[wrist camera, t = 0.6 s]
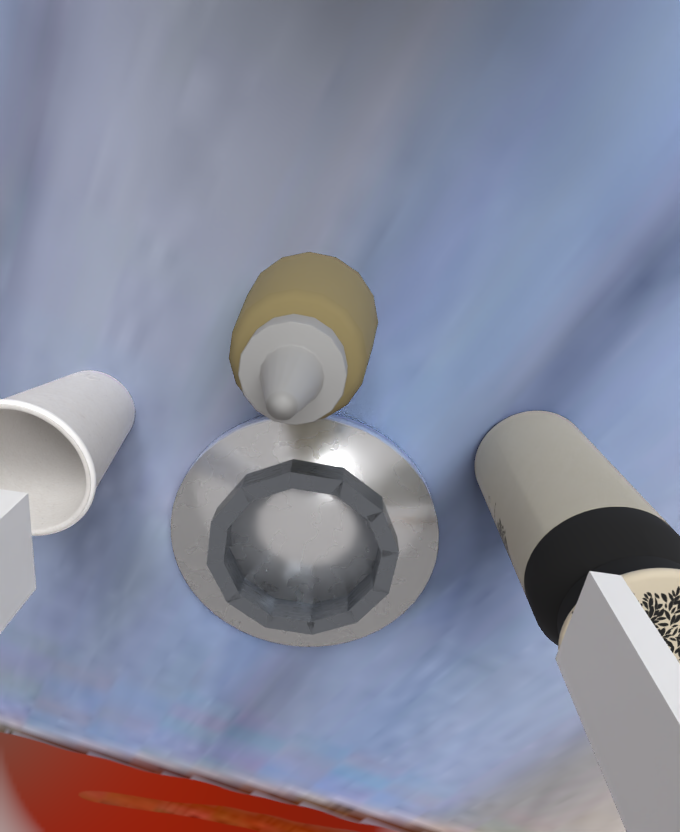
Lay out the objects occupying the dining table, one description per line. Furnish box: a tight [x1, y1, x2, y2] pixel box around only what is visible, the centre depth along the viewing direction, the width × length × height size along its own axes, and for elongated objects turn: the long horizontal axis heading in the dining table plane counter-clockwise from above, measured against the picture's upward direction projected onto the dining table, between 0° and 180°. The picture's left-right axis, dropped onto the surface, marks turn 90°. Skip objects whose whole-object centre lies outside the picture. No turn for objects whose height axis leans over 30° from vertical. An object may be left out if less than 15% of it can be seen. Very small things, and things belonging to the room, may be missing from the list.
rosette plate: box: [171, 414, 439, 647], centre depth 42 cm, size 20×20×4 cm
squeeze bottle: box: [229, 252, 378, 425], centre depth 29 cm, size 8×8×18 cm
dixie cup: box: [0, 370, 135, 536], centre depth 36 cm, size 8×8×10 cm
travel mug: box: [475, 411, 680, 663], centre depth 32 cm, size 8×8×18 cm
